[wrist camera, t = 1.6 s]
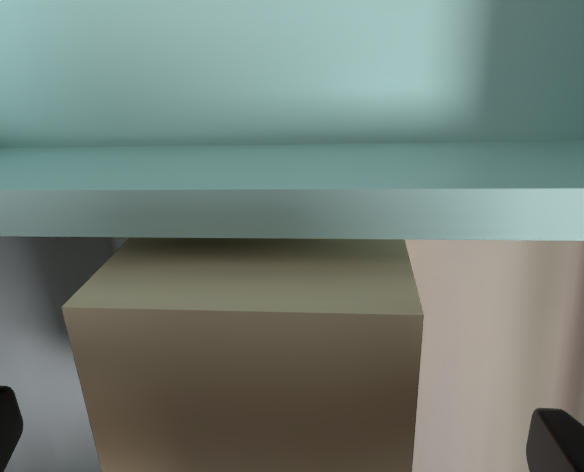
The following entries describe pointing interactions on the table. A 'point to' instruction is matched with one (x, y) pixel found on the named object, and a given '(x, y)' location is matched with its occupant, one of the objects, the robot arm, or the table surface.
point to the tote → (292, 119)
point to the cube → (250, 355)
